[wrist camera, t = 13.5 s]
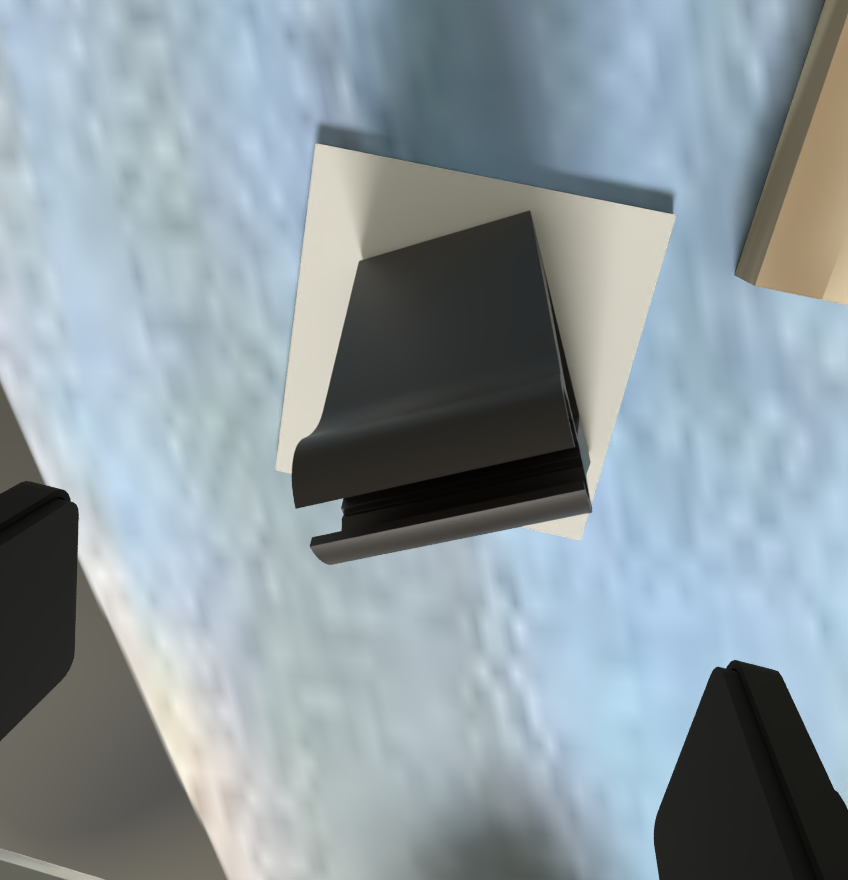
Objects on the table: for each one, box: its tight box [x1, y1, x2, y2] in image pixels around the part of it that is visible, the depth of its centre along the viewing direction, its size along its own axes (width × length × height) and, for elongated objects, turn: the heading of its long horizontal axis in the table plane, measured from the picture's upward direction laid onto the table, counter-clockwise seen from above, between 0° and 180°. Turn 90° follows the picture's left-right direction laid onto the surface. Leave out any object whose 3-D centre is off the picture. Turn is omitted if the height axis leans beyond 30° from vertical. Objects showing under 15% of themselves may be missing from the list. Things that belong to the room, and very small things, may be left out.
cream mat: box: [275, 143, 676, 541], centre depth 27 cm, size 12×12×1 cm
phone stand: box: [292, 210, 592, 565], centre depth 21 cm, size 9×6×12 cm, turn 16°
